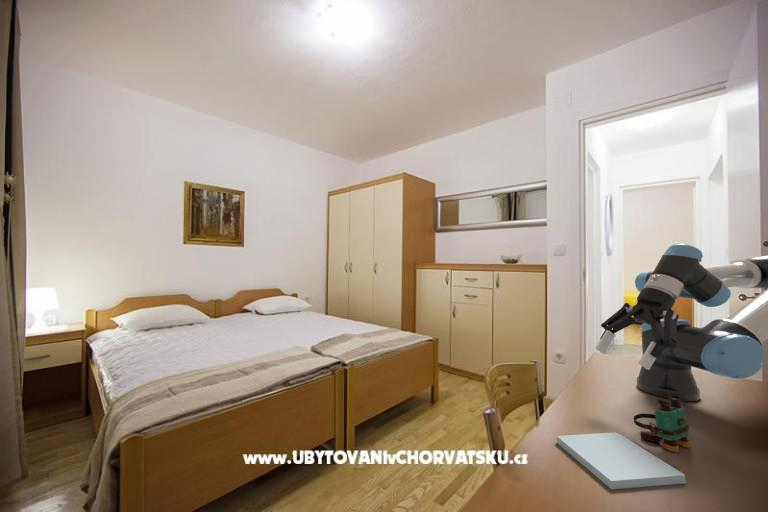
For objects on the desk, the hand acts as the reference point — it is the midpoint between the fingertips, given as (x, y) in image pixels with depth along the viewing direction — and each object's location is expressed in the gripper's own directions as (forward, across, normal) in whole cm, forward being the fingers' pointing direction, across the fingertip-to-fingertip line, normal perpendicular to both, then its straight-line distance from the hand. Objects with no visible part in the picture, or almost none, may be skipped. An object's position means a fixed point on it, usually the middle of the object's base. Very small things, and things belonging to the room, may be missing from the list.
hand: (619, 358), depth 84 cm
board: (+23, +17, -6) cm, 30 cm away
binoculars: (+13, +12, +8) cm, 20 cm away
